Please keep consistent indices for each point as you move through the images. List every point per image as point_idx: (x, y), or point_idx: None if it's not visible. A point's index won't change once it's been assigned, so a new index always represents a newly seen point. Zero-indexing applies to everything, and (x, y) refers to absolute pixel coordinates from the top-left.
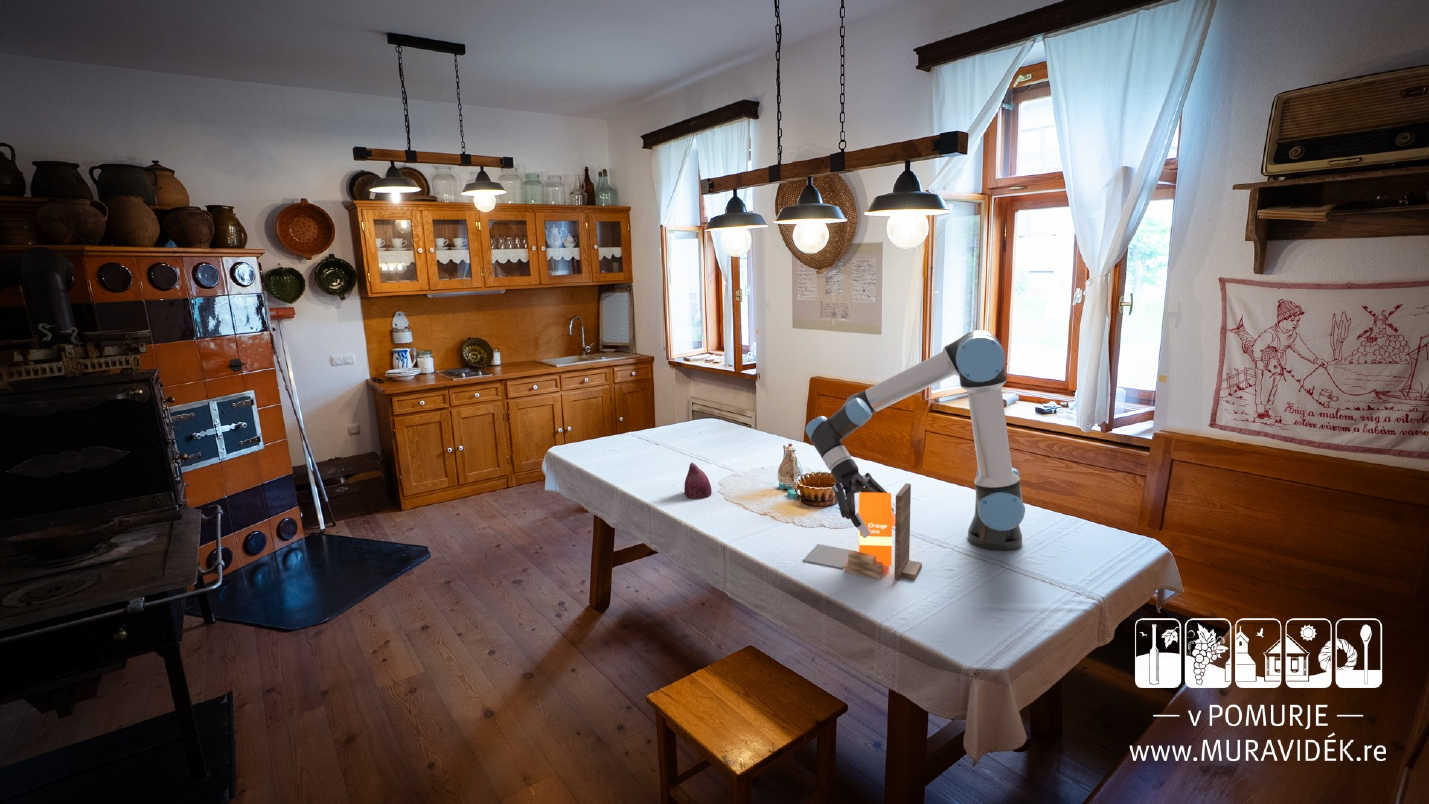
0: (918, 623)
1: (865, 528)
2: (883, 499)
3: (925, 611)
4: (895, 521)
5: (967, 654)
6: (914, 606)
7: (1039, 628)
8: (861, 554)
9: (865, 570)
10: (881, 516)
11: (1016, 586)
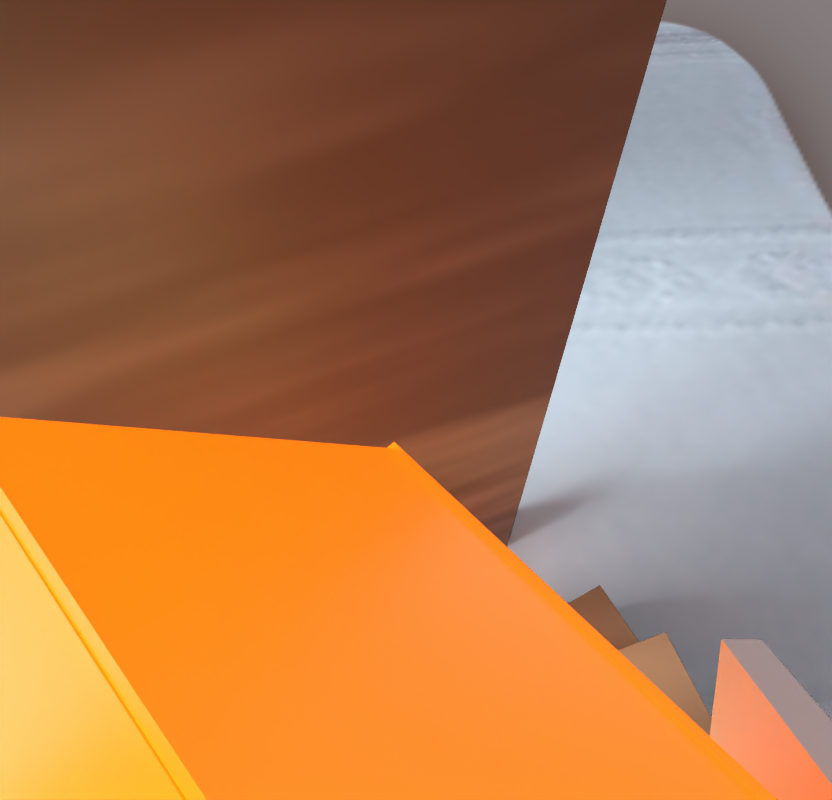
0: (727, 230)
1: (815, 712)
2: (285, 597)
3: (627, 261)
4: (600, 218)
5: (705, 75)
6: (639, 308)
7: None
8: None
9: None
10: (529, 569)
11: None
